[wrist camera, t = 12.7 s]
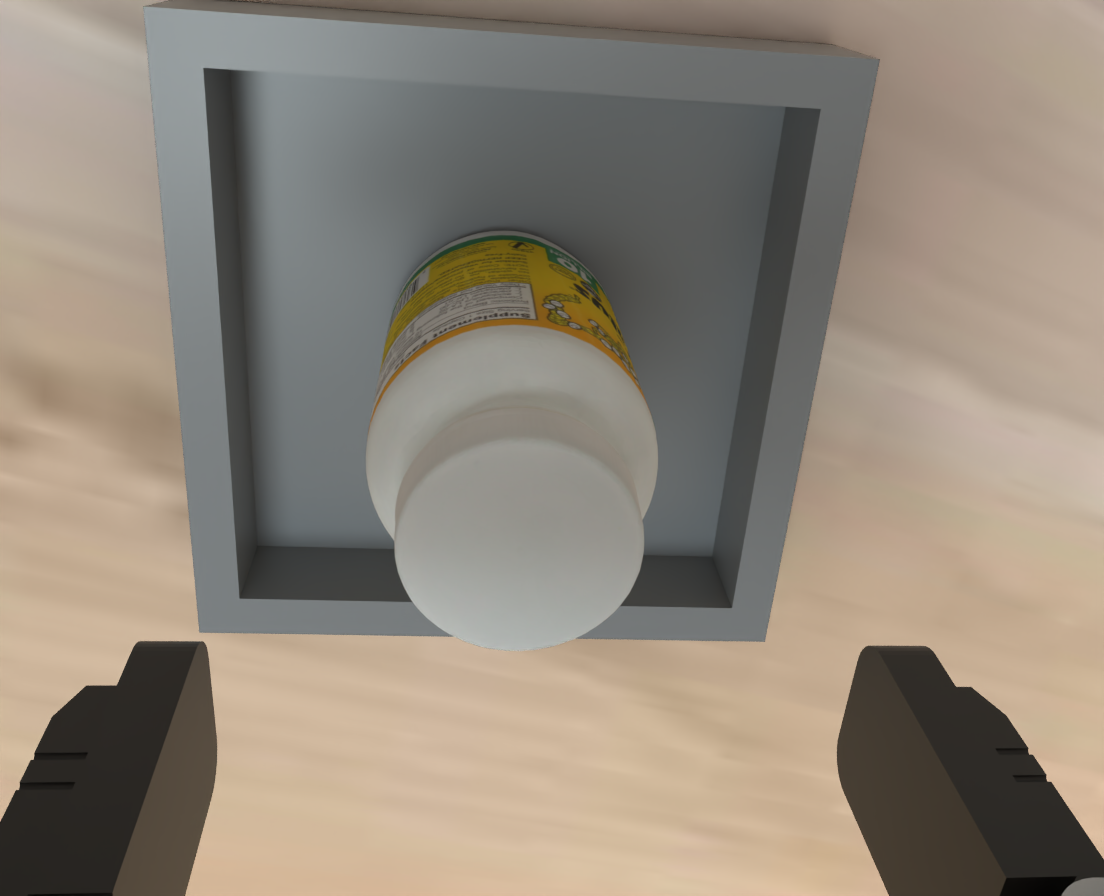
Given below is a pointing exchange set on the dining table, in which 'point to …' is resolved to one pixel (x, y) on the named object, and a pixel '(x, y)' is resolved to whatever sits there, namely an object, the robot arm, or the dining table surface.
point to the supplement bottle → (510, 444)
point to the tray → (474, 207)
